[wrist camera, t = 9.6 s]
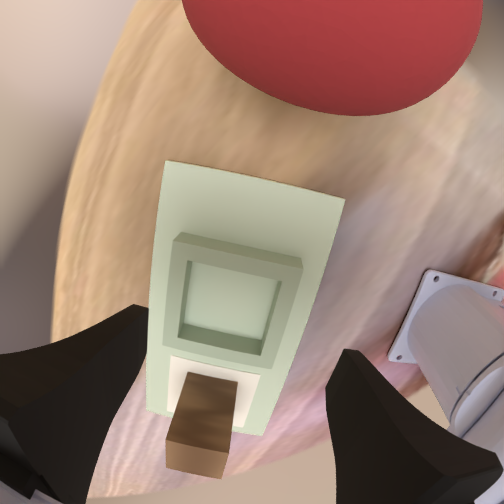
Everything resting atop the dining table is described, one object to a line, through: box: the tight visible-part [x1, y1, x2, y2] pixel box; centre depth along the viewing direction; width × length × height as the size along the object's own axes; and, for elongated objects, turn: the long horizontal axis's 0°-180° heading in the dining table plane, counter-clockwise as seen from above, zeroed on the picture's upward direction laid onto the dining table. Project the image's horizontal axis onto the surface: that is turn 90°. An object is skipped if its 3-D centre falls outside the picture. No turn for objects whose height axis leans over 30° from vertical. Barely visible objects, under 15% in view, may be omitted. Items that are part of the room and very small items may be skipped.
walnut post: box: [166, 372, 238, 479], centre depth 20 cm, size 4×4×7 cm
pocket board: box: [146, 160, 345, 436], centre depth 21 cm, size 11×22×2 cm, turn 168°
